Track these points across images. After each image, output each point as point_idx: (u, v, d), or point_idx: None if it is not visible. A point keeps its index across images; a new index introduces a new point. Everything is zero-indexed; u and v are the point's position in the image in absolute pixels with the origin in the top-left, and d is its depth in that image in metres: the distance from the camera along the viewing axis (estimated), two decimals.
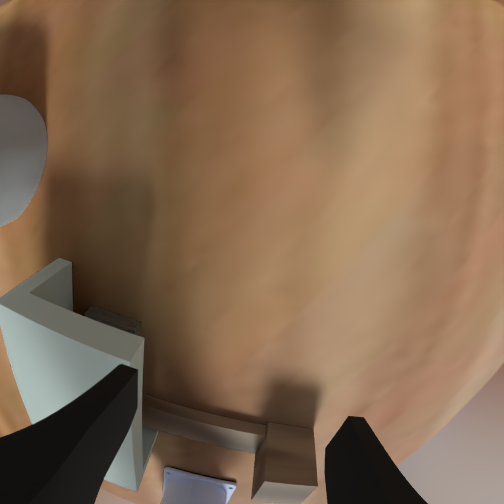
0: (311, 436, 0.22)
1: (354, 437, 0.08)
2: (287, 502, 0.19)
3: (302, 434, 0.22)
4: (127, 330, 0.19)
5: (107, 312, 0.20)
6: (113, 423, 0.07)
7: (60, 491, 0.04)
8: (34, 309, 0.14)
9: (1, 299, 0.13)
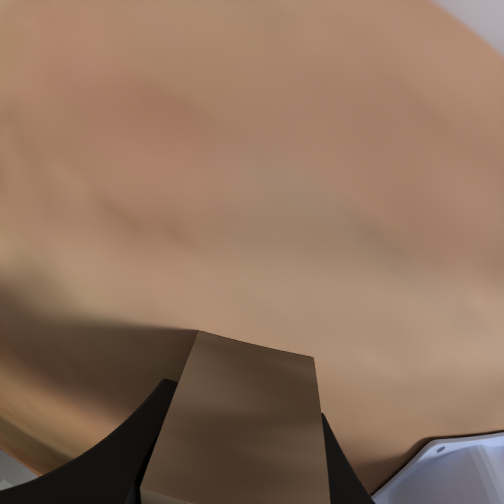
0: (191, 352, 0.09)
1: None
2: None
3: None
4: None
5: None
6: None
7: None
8: None
9: None
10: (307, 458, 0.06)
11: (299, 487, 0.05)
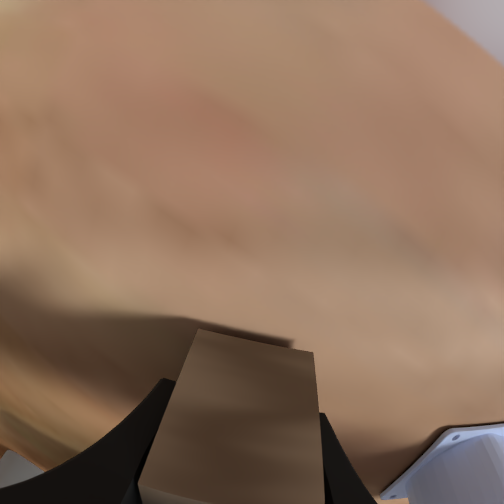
0: (190, 349, 0.09)
1: None
2: None
3: None
4: None
5: None
6: None
7: None
8: None
9: None
10: (303, 454, 0.06)
11: (293, 483, 0.05)
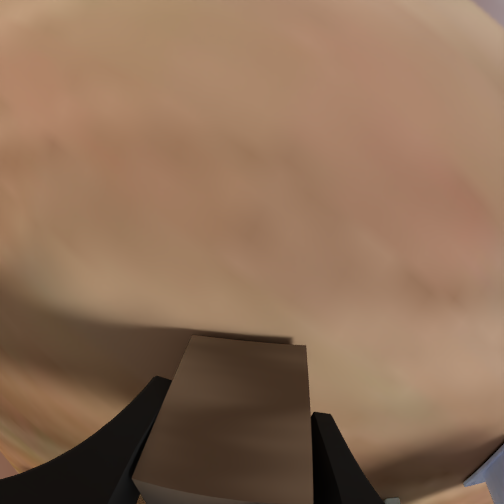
0: (185, 355, 0.10)
1: (317, 434, 0.08)
2: None
3: None
4: None
5: None
6: None
7: None
8: None
9: None
10: (291, 445, 0.07)
11: (281, 473, 0.06)
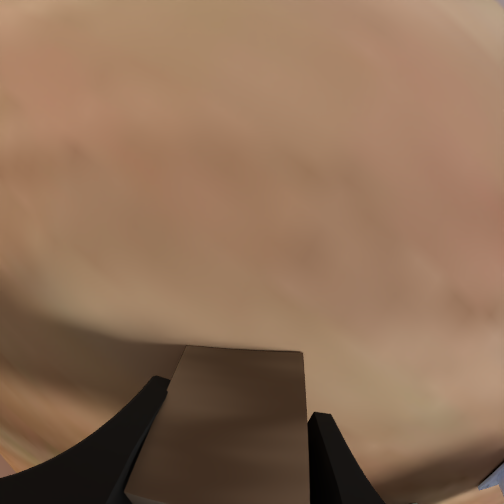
0: (180, 366, 0.10)
1: (318, 434, 0.08)
2: None
3: None
4: None
5: None
6: None
7: None
8: None
9: None
10: (287, 456, 0.06)
11: (276, 486, 0.05)
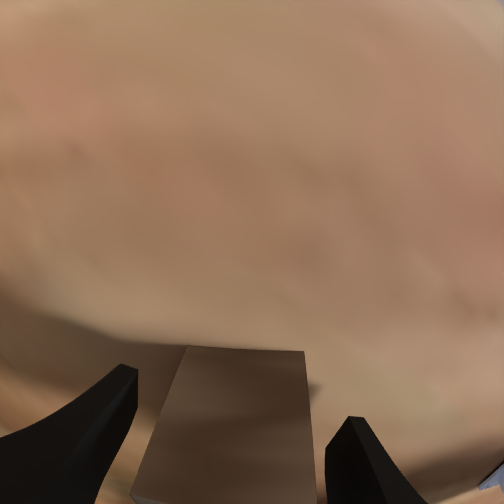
0: (181, 366, 0.10)
1: (354, 437, 0.08)
2: None
3: None
4: None
5: None
6: (113, 423, 0.07)
7: (60, 491, 0.04)
8: None
9: None
10: (293, 454, 0.06)
11: (283, 484, 0.05)
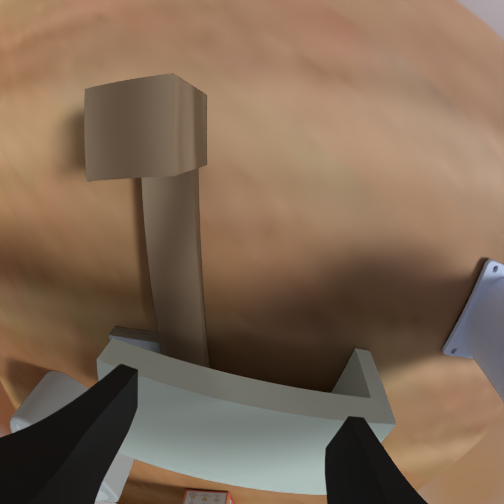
0: None
1: (354, 437, 0.08)
2: (162, 102, 0.10)
3: None
4: None
5: None
6: (113, 423, 0.07)
7: (60, 491, 0.04)
8: None
9: None
10: None
11: None
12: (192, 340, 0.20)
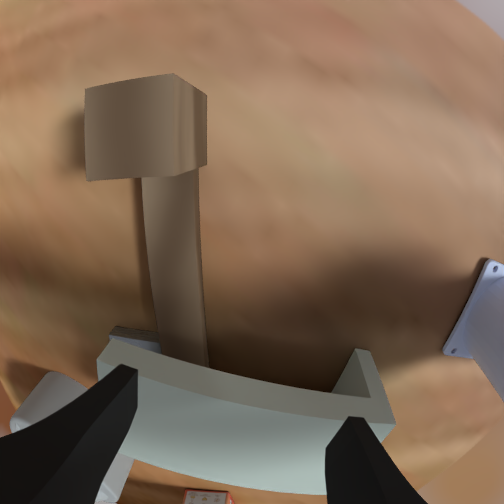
0: None
1: (354, 437, 0.08)
2: (163, 102, 0.10)
3: None
4: None
5: None
6: (113, 423, 0.07)
7: (60, 491, 0.04)
8: None
9: None
10: None
11: None
12: (192, 340, 0.20)
